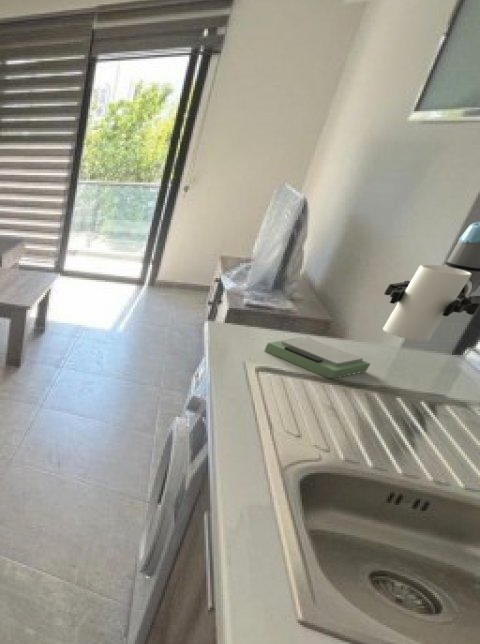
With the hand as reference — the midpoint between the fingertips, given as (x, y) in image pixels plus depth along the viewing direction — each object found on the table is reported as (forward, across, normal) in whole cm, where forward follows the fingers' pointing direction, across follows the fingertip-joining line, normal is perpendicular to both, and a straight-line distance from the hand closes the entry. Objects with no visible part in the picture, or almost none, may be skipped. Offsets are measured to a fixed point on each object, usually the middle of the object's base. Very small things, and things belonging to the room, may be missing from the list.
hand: (420, 303), depth 109 cm
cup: (-5, 0, -9) cm, 10 cm away
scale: (+5, +12, -19) cm, 23 cm away
